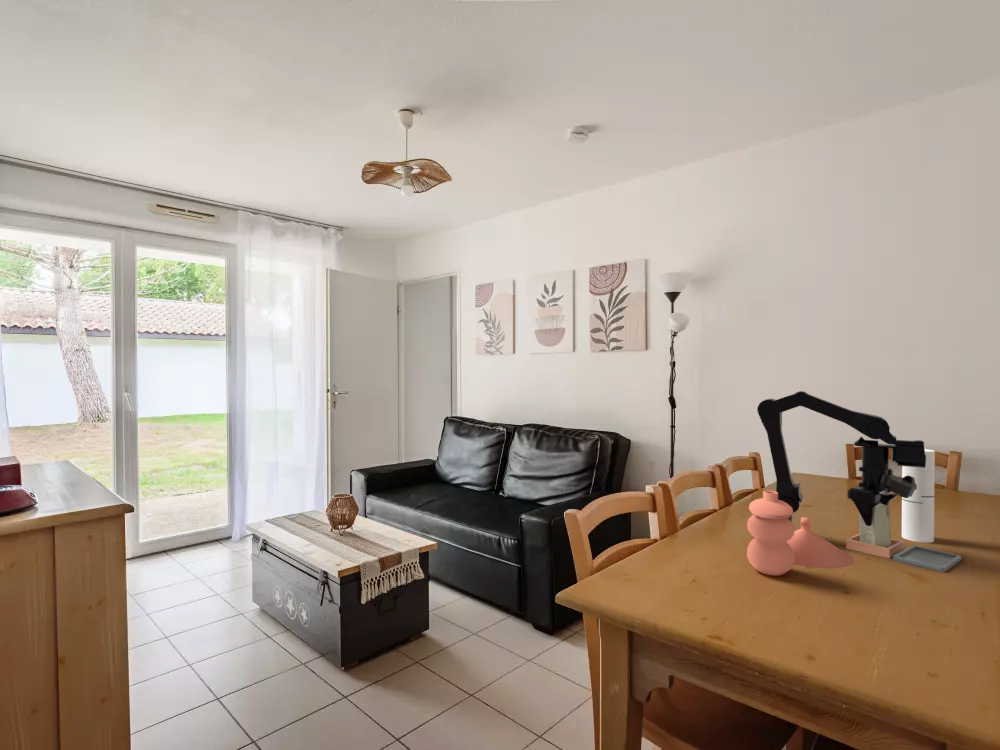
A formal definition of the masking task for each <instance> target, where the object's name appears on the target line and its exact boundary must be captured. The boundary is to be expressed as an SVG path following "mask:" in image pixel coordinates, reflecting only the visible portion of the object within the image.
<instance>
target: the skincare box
mask: <svg viewBox="0 0 1000 750" xmlns="http://www.w3.org/2000/svg"><path fill="white" fill-rule="evenodd" d="M891 528H892V527H891V506H889V505H888V506H887V505H884V504H881V503H880V504H878V505H877V506H875V509H874V515H873V520H872V525H871V526H867V525H866V524H865V522H864V520H863V518H862V516H861V514H860V513H859V533H860V542H864V543H868V544H872V545H877V546H881V547H885V548H888V547H890V546H891V539H892V536H891V535H892V534H891V531H892V530H891Z"/></svg>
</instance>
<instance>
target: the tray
mask: <svg viewBox="0 0 1000 750" xmlns="http://www.w3.org/2000/svg"><path fill="white" fill-rule="evenodd" d="M962 560H963V555H959V554H955V553H951V552H946V551H941V550H937V549H933V548H927V547H924V546H918V545H915V544H913V545H911V546H909V547H907V548H906V549H904V550H903V551H902V552H900V553H898V554H896V555H894V556H893V557H892V561H893V562H896V563H897V562H898V563H901V564H906V565H910V566H915V567H919V568H922V569H926V570H927V569H928V570H931V571H936V572H941V573H946V572H947V571H948V570H950V569H951V568H952V567H954V566H956V565H957V564H958V563H960V562H962Z"/></svg>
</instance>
